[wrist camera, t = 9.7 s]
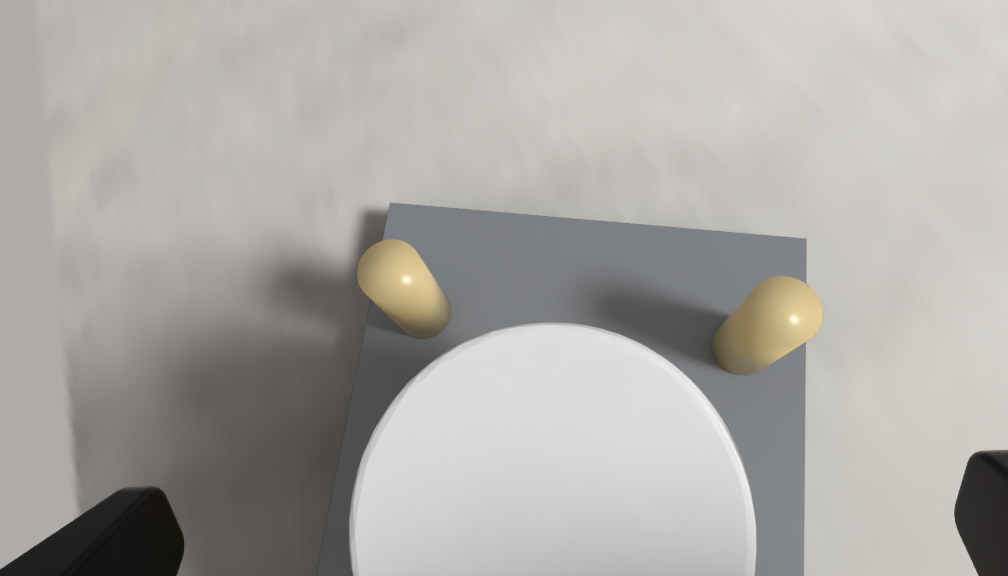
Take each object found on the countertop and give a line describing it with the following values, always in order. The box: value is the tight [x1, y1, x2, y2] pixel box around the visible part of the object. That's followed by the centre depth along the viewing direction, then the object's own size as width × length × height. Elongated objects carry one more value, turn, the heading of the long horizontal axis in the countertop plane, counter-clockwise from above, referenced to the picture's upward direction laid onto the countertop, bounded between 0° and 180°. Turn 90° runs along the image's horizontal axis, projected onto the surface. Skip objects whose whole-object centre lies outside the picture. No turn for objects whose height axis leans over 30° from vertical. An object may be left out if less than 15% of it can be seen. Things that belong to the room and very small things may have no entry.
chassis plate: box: [316, 203, 823, 576], centre depth 15 cm, size 14×11×5 cm
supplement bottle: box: [349, 322, 756, 576], centre depth 11 cm, size 5×5×10 cm
